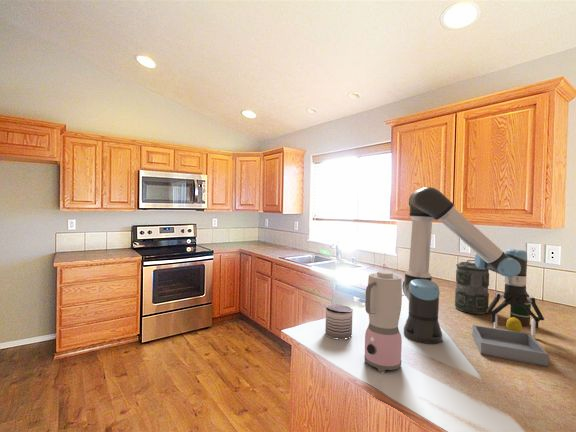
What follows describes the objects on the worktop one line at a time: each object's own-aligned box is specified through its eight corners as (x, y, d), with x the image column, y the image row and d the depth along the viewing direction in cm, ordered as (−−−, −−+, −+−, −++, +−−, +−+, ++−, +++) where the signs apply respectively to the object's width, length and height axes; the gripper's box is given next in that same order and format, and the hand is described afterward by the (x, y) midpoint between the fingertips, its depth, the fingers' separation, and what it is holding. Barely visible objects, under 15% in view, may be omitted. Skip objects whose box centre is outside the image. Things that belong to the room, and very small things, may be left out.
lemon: (506, 331, 134) (506, 313, 134) (521, 334, 131) (522, 316, 131) (505, 335, 130) (506, 317, 130) (521, 338, 127) (522, 320, 127)
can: (320, 331, 130) (321, 303, 129) (342, 327, 134) (343, 301, 134) (333, 341, 119) (334, 312, 119) (357, 338, 123) (358, 309, 123)
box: (480, 354, 111) (481, 342, 111) (472, 334, 129) (472, 324, 129) (548, 367, 103) (548, 354, 103) (528, 344, 121) (529, 333, 121)
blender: (379, 352, 111) (381, 267, 110) (408, 366, 101) (411, 273, 100) (350, 363, 102) (352, 271, 101) (379, 380, 92) (382, 278, 91)
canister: (470, 315, 154) (472, 262, 154) (448, 306, 170) (449, 257, 170) (495, 314, 158) (497, 262, 157) (471, 305, 173) (473, 257, 173)
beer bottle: (511, 319, 150) (513, 272, 150) (531, 323, 145) (532, 275, 145) (508, 323, 145) (510, 274, 145) (528, 327, 139) (530, 277, 139)
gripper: (483, 282, 132) (482, 329, 132) (555, 290, 122) (553, 340, 122) (480, 279, 139) (479, 324, 139) (547, 286, 129) (546, 334, 129)
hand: (513, 332), depth 130 cm, fingers open, 13 cm apart
